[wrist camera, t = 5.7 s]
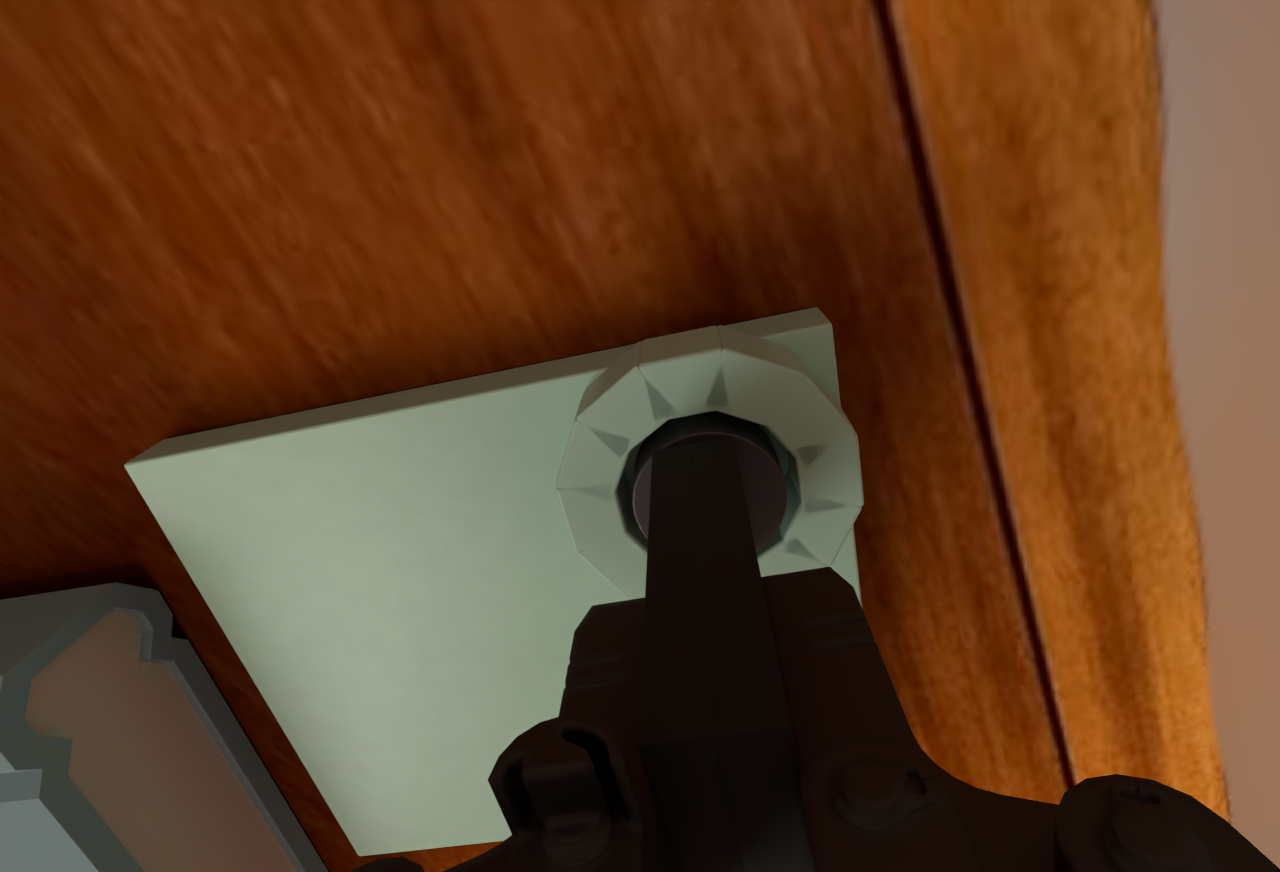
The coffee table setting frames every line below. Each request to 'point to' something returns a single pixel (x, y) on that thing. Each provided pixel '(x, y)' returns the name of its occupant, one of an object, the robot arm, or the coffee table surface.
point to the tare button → (754, 464)
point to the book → (126, 747)
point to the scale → (472, 550)
